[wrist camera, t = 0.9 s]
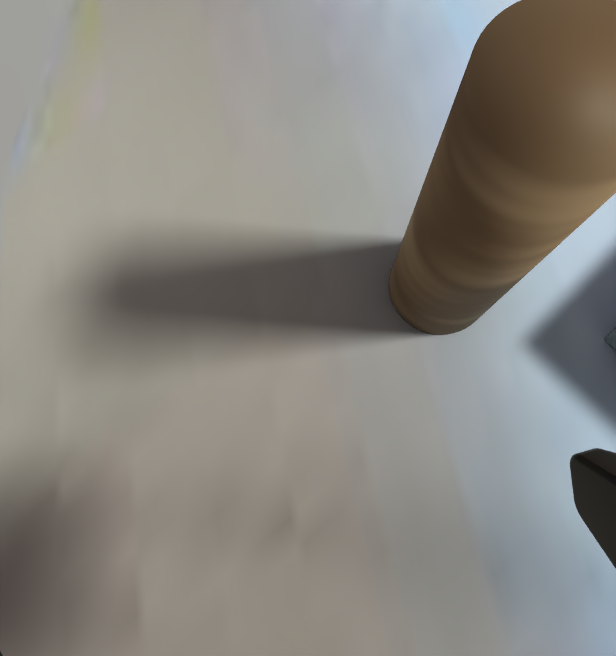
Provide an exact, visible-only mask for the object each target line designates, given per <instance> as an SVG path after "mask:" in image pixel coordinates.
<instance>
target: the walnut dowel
mask: <svg viewBox="0 0 616 656" xmlns="http://www.w3.org/2000/svg"><path fill="white" fill-rule="evenodd" d="M615 193H616V0H521V1H519V2H516V3H515V4H513V5H511V6H510V7H508V8H506V9H505V10H503V11H502V12H501V13H500V14H498V15H497V16H496V17H495V18H494V19H493V20H492V21H491V22H490V23H489V24H488V25H487V26H486V28H485V29H484V30H483V32H482V33H481V35H480V36H479V38H478V40H477V42H476V44H475V46H474V49H473V51H472V54H471V57H470V60H469V62H468V65H467V68H466V70H465V73H464V76H463V78H462V81H461V84H460V87H459V89H458V92H457V95H456V97H455V100H454V103H453V105H452V108H451V111H450V114H449V116H448V119H447V122H446V124H445V127H444V130H443V133H442V135H441V138H440V141H439V143H438V146H437V149H436V151H435V154H434V157H433V160H432V162H431V165H430V168H429V170H428V173H427V176H426V178H425V181H424V184H423V187H422V189H421V192H420V195H419V197H418V200H417V203H416V206H415V208H414V211H413V214H412V216H411V219H410V222H409V224H408V227H407V230H406V233H405V235H404V238H403V241H402V243H401V246H400V249H399V251H398V254H397V257H396V260H395V262H394V265H393V268H392V271H391V274H390V279H389V291H390V296H391V299H392V302H393V305H394V306H395V308H396V310H397V312H398V313H399V314H400V316H401V317H402V318H403V319H404V320H405V321H406V322H408V323H409V324H410V325H412V326H413V327H415V328H417V329H419V330H421V331H424V332H427V333H431V334H439V335H442V334H451V333H455V332H459V331H461V330H463V329H465V328H467V327H469V326H470V325H471V324H473V323H474V322H475V321H476V320H477V319H478V318H479V317H480V316H482V315H483V314H484V313H485V312H486V311H487V310H488V309H489V308H490V307H491V306H492V305H494V304H495V303H496V302H497V301H498V300H499V299H500V298H501V297H502V296H503V295H504V294H506V293H507V292H508V291H509V290H510V289H511V288H512V287H513V286H514V285H515V284H516V283H518V282H519V281H520V280H521V279H522V278H523V277H524V276H525V275H526V274H527V273H528V272H530V271H531V270H532V269H533V268H534V267H535V266H536V265H537V264H538V263H539V262H540V261H542V260H543V259H544V258H545V257H546V256H547V255H548V254H549V253H550V252H551V251H552V250H554V249H555V248H556V247H557V246H558V245H559V244H560V243H561V242H562V241H563V240H564V239H566V238H567V237H568V236H569V235H570V234H571V233H572V232H573V231H574V230H575V229H576V228H578V227H579V226H580V225H581V224H582V223H583V222H584V221H585V220H586V219H587V218H588V217H590V216H591V215H592V214H593V213H594V212H595V211H596V210H597V209H598V208H599V207H600V206H602V205H603V204H604V203H605V202H606V201H607V200H608V199H609V198H610V197H611V196H612V195H614V194H615Z"/></svg>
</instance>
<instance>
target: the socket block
mask: <svg viewBox="0 0 616 656" xmlns="http://www.w3.org/2000/svg"><path fill="white" fill-rule="evenodd" d="M604 340H605V341H606V342H607V343H608V344H609V345H611V346H612V347H613V348H614V349H615V350H616V328H615V329H614V330H613V331H612V332H611V333H610V334H609V335H608V336H607V337H606V338H605V339H604Z"/></svg>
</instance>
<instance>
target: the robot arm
mask: <svg viewBox="0 0 616 656" xmlns="http://www.w3.org/2000/svg"><path fill="white" fill-rule="evenodd" d="M570 469H571V478H572V486H573V494H574V501H575V505H576V508H577V510H578V513H579V515H580V516H581V518H582V519H583V521H584V522H585V524H586V525H587V527H588V528H589V530H590V531H591V533H592V534H593V536H594V537H595V539H596V540H597V542H598V543H599V545H600V546H601V548H602V549H603V550H604V552H605V553H606V555H607V556H608V558H609V559H610V561H611V562H612V564H613V565H614V567H615V568H616V453H614V452H610V451H606V450H603V449H599V448H595V449H591V450H588V451H584V452H581V453H577V454H574V455H573V456H572V457H571V460H570ZM0 656H2V654H1V652H0Z"/></svg>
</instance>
